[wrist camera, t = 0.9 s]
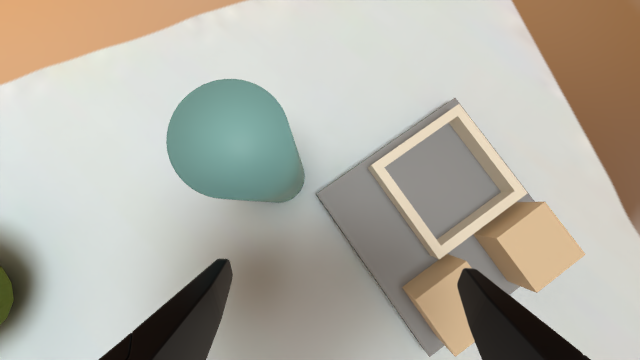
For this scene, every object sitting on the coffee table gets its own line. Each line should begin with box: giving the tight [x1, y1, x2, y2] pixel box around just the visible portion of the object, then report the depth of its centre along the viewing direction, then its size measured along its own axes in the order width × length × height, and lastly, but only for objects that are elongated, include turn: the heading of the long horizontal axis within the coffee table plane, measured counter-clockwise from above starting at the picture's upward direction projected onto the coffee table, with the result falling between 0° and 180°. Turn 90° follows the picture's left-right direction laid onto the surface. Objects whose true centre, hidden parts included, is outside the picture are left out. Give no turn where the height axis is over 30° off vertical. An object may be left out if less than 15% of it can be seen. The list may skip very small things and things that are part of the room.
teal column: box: [167, 79, 304, 203], centre depth 17 cm, size 5×5×14 cm
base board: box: [316, 98, 585, 357], centre depth 22 cm, size 16×17×4 cm
